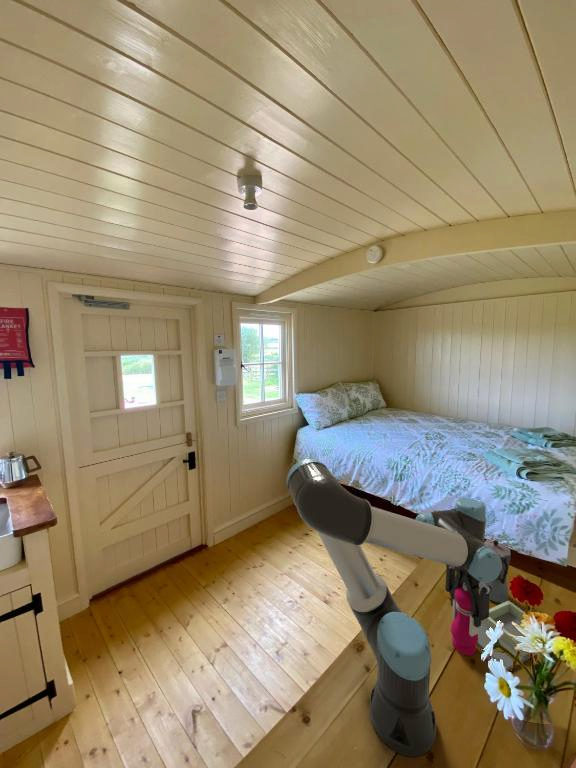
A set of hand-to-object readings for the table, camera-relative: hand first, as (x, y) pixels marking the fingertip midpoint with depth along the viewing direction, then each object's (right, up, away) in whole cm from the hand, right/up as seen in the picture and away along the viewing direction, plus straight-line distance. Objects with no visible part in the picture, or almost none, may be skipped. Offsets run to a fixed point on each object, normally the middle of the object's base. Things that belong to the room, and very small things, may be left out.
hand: (464, 625), depth 96 cm
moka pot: (+22, -4, +20) cm, 30 cm away
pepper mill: (0, -7, +1) cm, 7 cm away
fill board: (+14, -6, +3) cm, 16 cm away
